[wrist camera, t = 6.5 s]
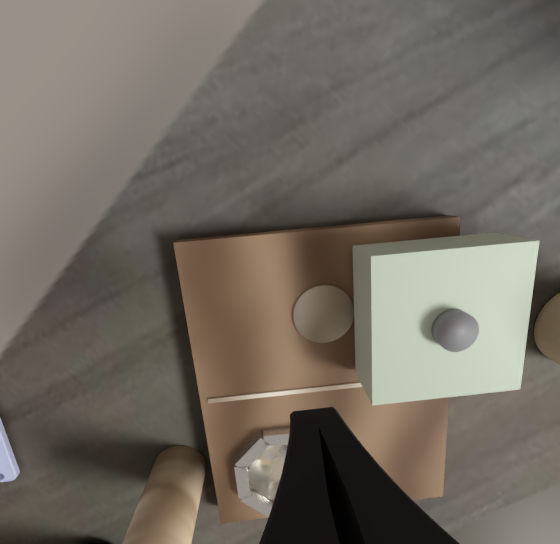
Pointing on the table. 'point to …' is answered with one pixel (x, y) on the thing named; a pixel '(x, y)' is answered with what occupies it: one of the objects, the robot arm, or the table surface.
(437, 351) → the cover
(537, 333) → the candle
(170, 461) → the peg
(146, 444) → the table surface
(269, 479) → the socket ring
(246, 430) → the board
